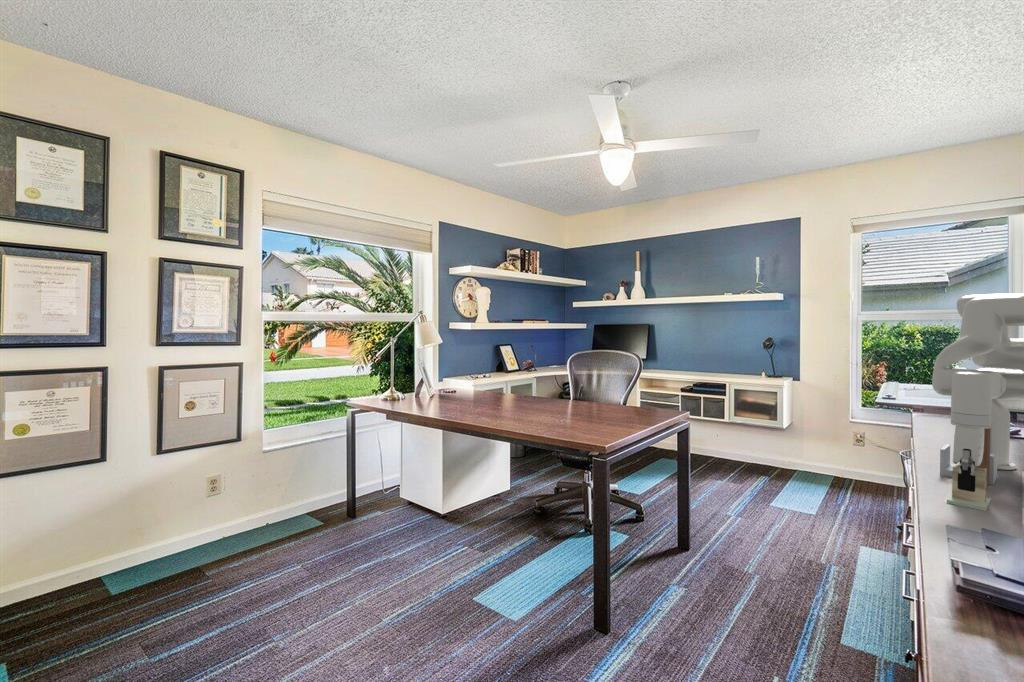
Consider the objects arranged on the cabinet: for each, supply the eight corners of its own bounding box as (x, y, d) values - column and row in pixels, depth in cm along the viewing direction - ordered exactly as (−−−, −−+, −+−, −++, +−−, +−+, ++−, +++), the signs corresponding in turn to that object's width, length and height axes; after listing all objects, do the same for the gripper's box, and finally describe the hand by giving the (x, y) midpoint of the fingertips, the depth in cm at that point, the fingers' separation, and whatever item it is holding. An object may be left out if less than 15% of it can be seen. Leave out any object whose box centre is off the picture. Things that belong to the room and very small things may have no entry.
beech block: (954, 494, 128) (955, 464, 128) (985, 500, 124) (986, 469, 123) (951, 497, 126) (952, 467, 125) (984, 503, 121) (984, 472, 121)
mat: (953, 494, 130) (953, 491, 130) (990, 501, 125) (990, 498, 125) (946, 502, 124) (946, 499, 124) (985, 510, 119) (985, 507, 118)
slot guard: (945, 469, 154) (946, 444, 154) (996, 477, 145) (997, 451, 145) (939, 475, 148) (940, 449, 147) (993, 484, 139) (993, 456, 139)
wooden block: (982, 491, 133) (984, 426, 133) (960, 486, 137) (962, 423, 136) (989, 484, 139) (991, 422, 138) (968, 480, 142) (969, 419, 142)
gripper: (956, 414, 133) (954, 476, 133) (945, 422, 121) (943, 489, 122) (994, 418, 127) (993, 483, 127) (986, 426, 116) (985, 497, 116)
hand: (969, 486), depth 124 cm, fingers open, 9 cm apart
